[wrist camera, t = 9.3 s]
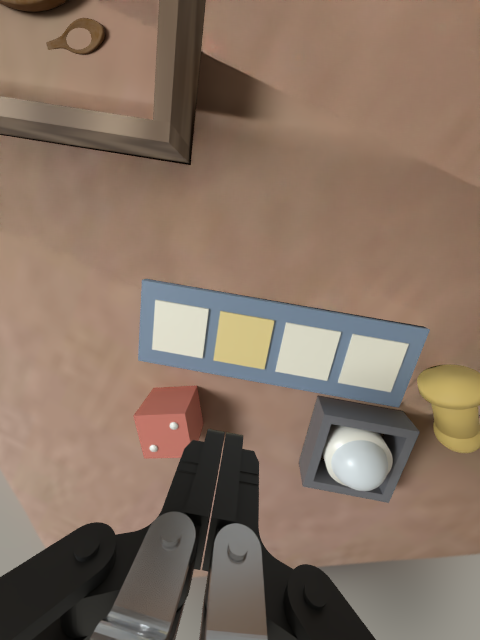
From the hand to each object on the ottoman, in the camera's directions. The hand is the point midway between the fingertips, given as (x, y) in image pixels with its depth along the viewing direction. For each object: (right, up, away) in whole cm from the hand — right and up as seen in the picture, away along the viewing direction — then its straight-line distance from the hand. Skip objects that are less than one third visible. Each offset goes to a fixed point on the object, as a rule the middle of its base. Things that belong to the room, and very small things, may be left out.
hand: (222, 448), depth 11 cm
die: (-5, -3, +16) cm, 17 cm away
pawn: (+17, 0, +10) cm, 20 cm away
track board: (+4, +3, +13) cm, 14 cm away
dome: (+11, -6, +14) cm, 19 cm away
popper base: (+11, -6, +15) cm, 20 cm away
